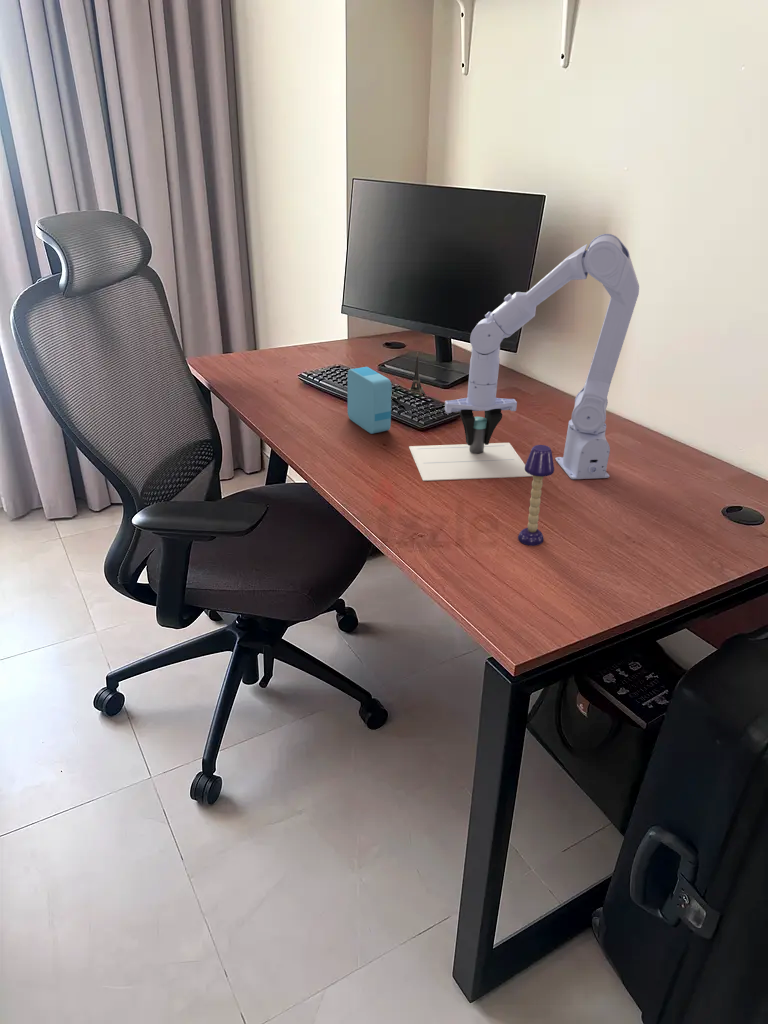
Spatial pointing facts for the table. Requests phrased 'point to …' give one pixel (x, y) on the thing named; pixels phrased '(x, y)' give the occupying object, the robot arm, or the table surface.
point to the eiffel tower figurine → (417, 379)
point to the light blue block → (369, 399)
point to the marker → (478, 435)
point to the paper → (467, 462)
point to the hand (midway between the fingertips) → (477, 443)
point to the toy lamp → (536, 491)
